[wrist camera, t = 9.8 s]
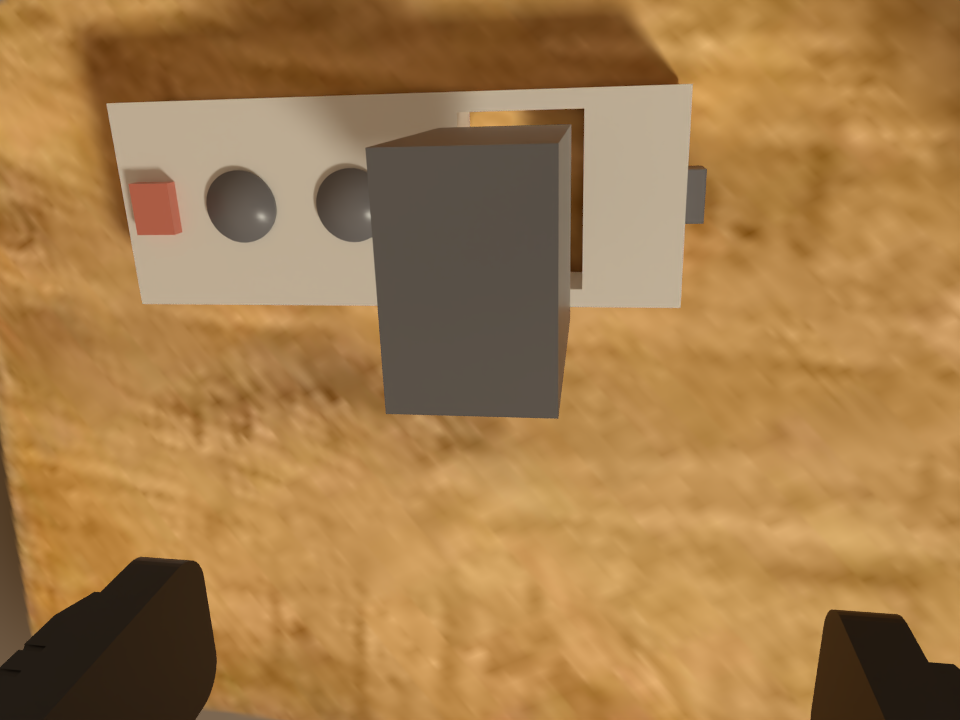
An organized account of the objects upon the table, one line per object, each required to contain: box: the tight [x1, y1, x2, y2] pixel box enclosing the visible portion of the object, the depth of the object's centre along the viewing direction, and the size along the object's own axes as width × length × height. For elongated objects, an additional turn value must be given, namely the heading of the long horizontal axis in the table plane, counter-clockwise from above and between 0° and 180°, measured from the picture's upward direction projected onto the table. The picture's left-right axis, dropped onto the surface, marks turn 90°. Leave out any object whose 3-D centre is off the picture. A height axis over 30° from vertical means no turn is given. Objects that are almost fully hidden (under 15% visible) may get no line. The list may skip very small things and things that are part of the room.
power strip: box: [106, 84, 707, 308], centre depth 31 cm, size 23×8×4 cm, turn 92°
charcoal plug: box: [365, 124, 571, 419], centre depth 21 cm, size 4×6×8 cm, turn 2°
